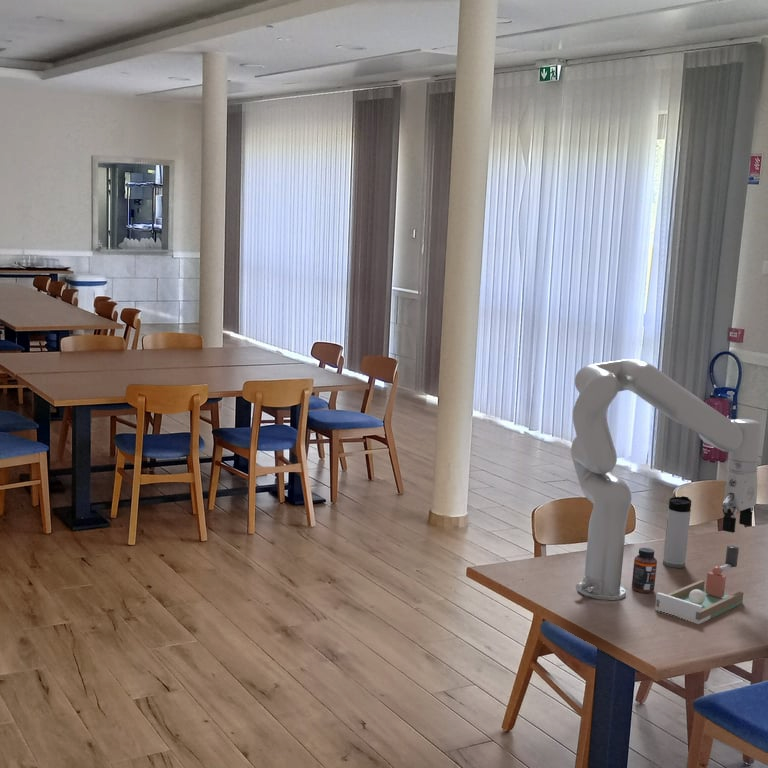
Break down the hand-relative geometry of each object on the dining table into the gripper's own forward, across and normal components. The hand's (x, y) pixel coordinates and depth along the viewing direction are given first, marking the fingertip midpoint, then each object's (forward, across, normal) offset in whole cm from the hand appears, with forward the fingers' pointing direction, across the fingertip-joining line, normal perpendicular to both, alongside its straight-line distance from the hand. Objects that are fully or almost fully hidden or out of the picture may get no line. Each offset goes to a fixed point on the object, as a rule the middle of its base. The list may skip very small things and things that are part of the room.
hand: (736, 528), depth 275 cm
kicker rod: (+17, -5, +1) cm, 17 cm away
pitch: (+18, -17, +1) cm, 25 cm away
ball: (+15, -19, 0) cm, 24 cm away
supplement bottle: (+18, -18, +17) cm, 30 cm away
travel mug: (+18, +10, +23) cm, 31 cm away
